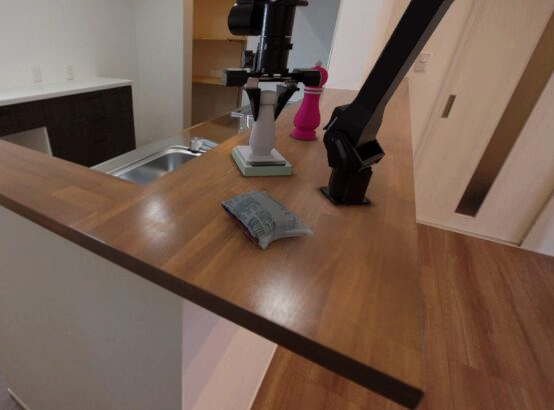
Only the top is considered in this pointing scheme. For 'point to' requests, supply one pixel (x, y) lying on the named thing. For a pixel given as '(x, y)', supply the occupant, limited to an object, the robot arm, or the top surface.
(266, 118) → the salt shaker
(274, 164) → the scale
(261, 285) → the top surface
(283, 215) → the packaged food
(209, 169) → the top surface
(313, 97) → the pepper mill
